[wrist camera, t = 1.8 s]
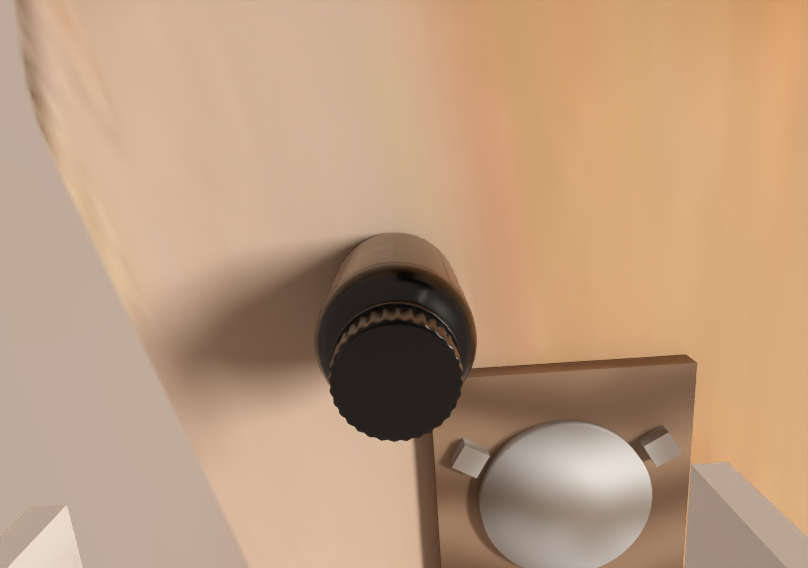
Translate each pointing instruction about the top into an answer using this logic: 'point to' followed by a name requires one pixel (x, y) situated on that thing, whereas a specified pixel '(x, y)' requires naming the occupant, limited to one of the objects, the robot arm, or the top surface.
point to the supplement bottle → (395, 338)
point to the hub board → (567, 465)
